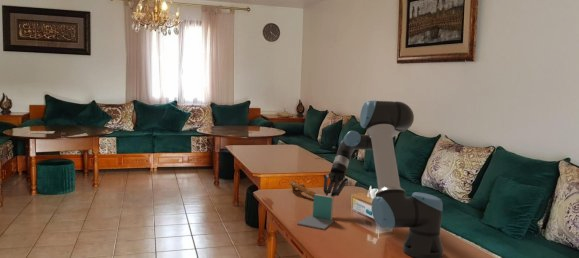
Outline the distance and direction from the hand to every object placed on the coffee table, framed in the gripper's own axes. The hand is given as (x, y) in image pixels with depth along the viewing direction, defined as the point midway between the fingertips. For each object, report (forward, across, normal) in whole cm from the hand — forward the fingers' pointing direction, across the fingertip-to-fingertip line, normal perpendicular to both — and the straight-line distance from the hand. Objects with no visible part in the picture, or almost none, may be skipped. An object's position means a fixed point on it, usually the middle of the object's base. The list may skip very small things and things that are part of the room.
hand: (326, 206), depth 226 cm
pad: (+13, 0, +6) cm, 14 cm away
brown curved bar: (-16, +22, -24) cm, 36 cm away
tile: (+7, 0, 0) cm, 7 cm away
